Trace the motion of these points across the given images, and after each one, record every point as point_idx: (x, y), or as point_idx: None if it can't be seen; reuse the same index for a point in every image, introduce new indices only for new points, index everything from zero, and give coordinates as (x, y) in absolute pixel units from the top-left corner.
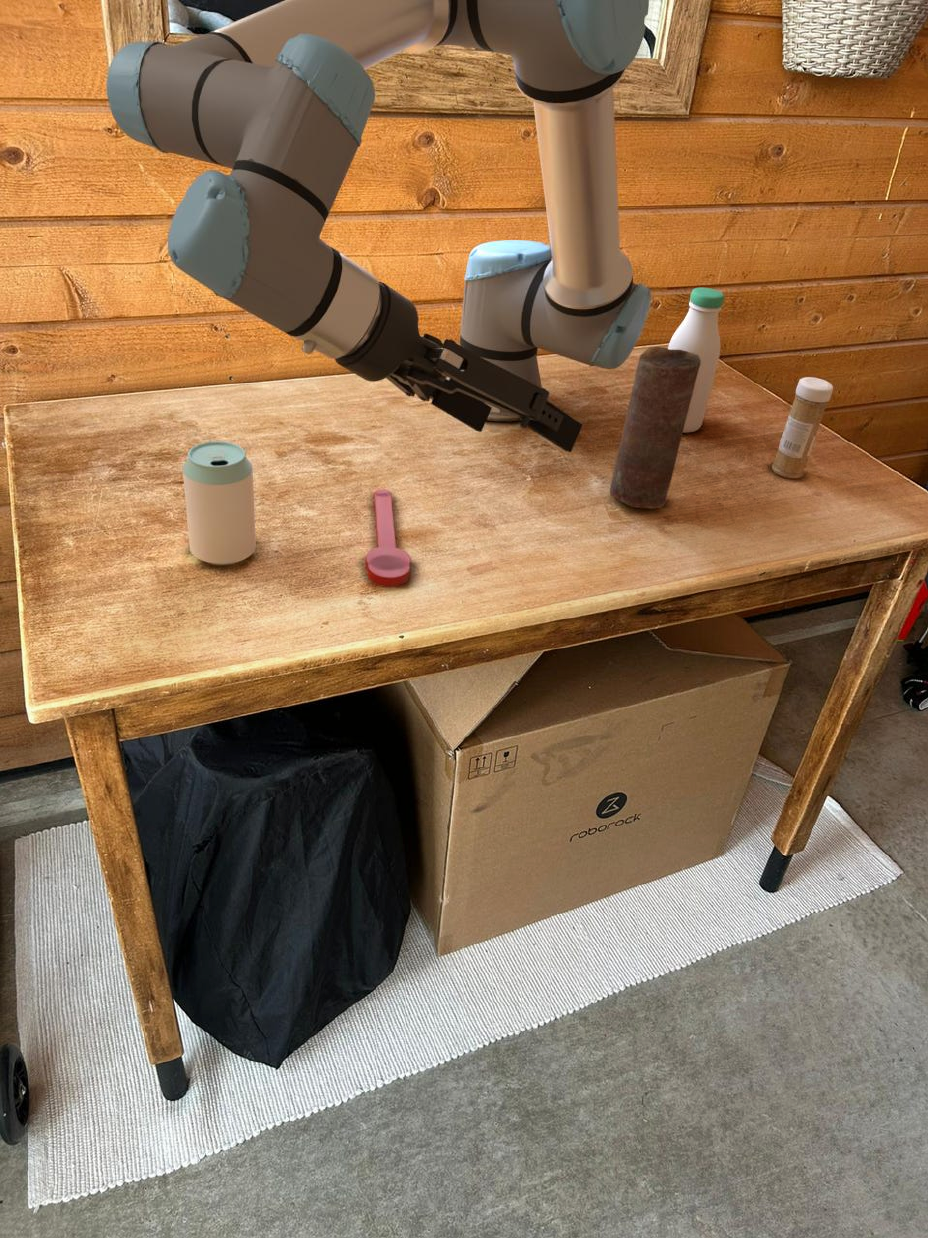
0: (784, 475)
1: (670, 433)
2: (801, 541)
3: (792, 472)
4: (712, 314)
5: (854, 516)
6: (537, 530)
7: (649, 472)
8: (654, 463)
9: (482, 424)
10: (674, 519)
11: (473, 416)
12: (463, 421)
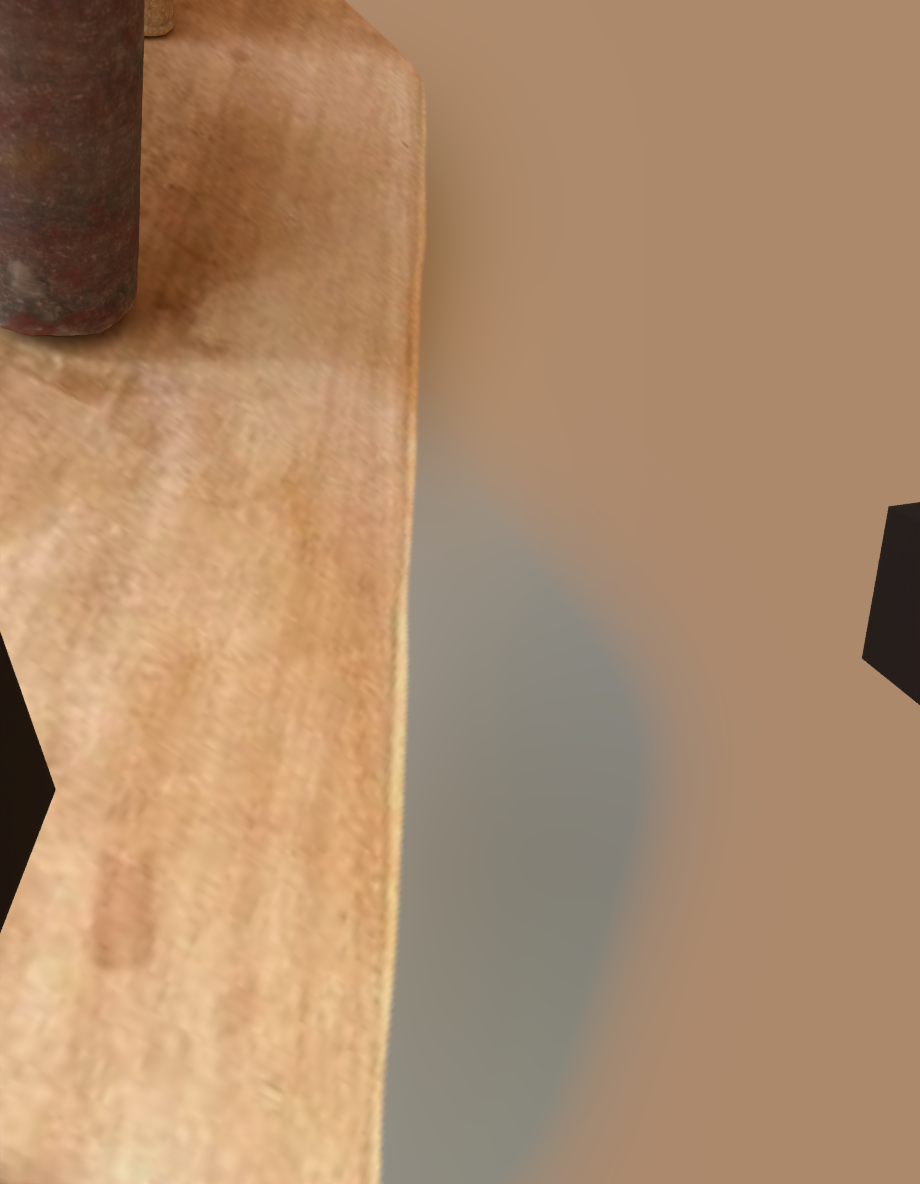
0: (152, 33)
1: (139, 82)
2: (372, 198)
3: (164, 19)
4: None
5: (336, 82)
6: (21, 608)
7: (119, 227)
8: (126, 196)
9: (35, 759)
10: (179, 297)
11: (2, 817)
12: (1, 928)
